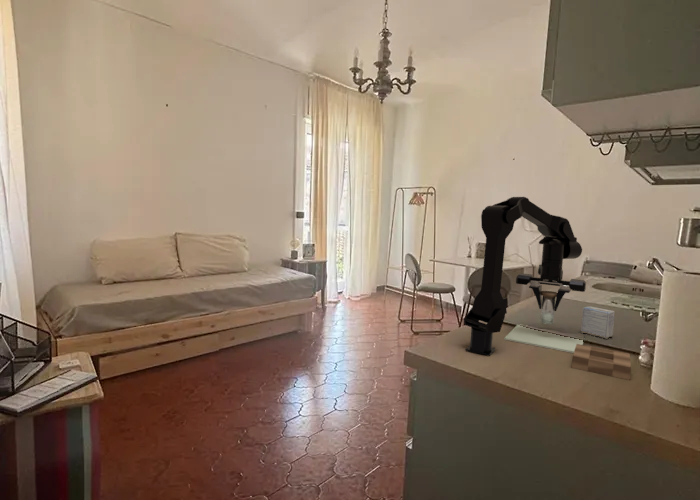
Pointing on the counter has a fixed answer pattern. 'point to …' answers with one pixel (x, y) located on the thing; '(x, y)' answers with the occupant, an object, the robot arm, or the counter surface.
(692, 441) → the counter surface
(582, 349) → the walnut block
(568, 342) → the sage mat
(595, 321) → the medicine box
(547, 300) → the metal peg
